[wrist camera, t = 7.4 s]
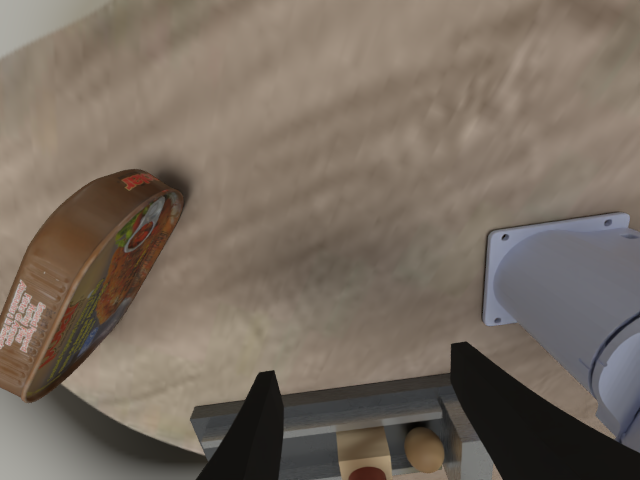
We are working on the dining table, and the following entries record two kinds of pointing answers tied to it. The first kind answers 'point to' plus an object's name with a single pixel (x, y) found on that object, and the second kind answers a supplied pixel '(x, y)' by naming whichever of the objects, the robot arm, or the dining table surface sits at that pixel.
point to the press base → (356, 413)
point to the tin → (82, 277)
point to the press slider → (364, 454)
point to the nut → (424, 450)
